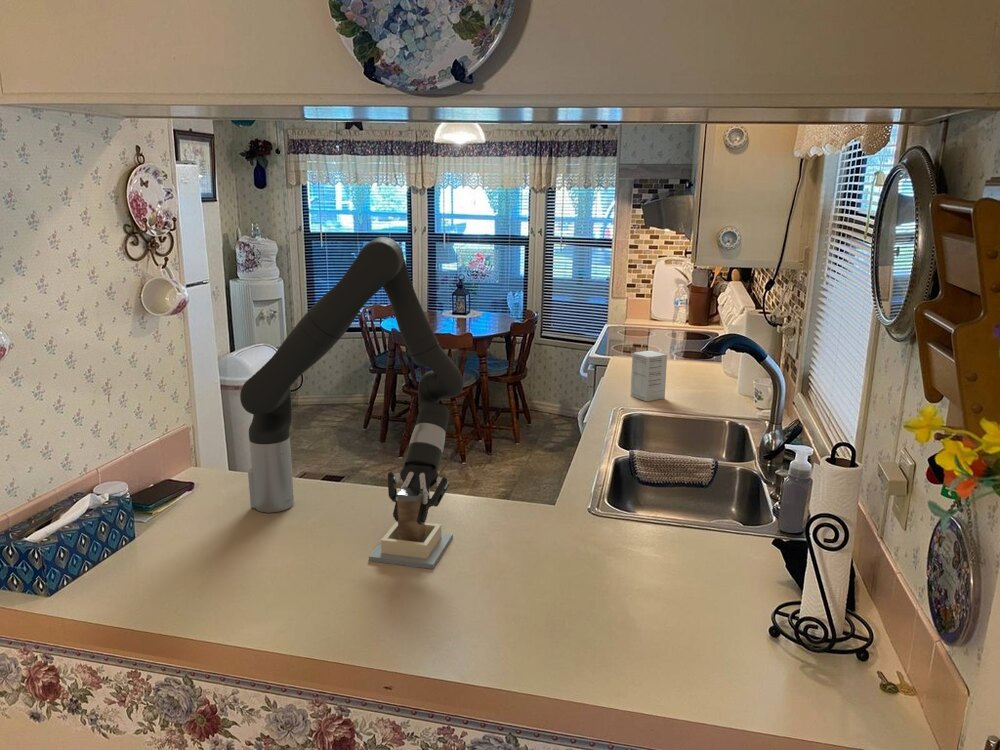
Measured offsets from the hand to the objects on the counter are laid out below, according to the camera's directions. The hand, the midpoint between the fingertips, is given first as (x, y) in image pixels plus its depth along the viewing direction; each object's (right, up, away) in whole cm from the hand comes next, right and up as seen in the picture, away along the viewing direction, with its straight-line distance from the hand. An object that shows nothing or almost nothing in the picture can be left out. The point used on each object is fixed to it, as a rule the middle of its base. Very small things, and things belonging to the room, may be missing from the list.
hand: (408, 521), depth 153 cm
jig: (0, -7, +4) cm, 8 cm away
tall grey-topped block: (0, -4, +3) cm, 5 cm away
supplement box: (+74, +22, +120) cm, 143 cm away
